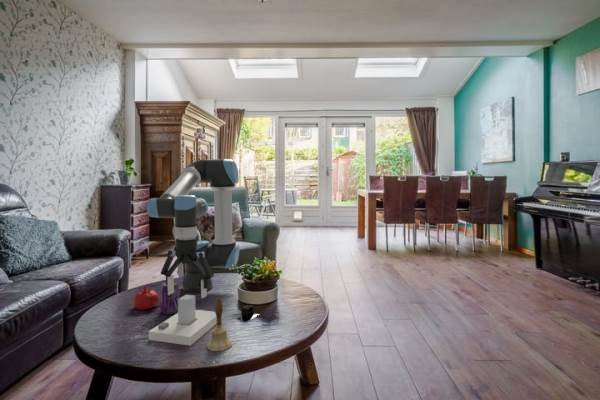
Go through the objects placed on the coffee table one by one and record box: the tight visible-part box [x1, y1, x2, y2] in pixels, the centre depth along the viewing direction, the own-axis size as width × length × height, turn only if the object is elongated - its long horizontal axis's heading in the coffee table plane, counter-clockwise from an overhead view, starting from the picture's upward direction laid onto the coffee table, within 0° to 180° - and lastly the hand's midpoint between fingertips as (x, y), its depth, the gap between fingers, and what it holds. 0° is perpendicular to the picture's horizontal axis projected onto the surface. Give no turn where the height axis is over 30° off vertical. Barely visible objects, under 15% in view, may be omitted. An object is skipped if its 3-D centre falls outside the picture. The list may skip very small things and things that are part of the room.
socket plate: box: [148, 309, 217, 347], centre depth 129 cm, size 22×16×4 cm
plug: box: [177, 294, 196, 326], centre depth 129 cm, size 5×4×12 cm
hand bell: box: [206, 297, 233, 352], centre depth 117 cm, size 8×8×16 cm
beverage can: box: [160, 281, 180, 315], centre depth 146 cm, size 7×7×12 cm
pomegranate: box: [132, 286, 160, 311], centre depth 151 cm, size 10×10×9 cm
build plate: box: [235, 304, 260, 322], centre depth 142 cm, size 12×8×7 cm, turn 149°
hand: (187, 295), depth 129 cm, fingers open, 13 cm apart
